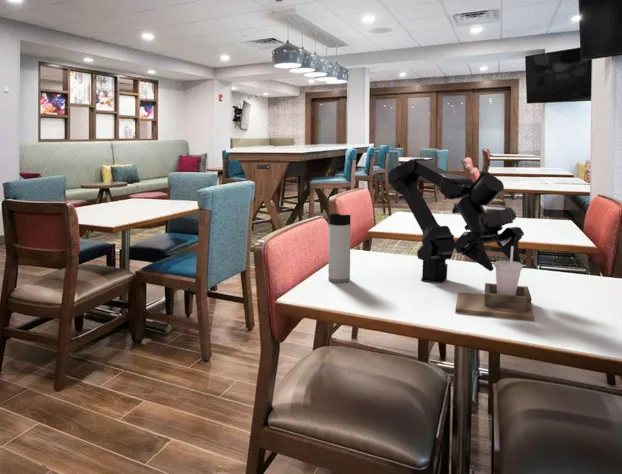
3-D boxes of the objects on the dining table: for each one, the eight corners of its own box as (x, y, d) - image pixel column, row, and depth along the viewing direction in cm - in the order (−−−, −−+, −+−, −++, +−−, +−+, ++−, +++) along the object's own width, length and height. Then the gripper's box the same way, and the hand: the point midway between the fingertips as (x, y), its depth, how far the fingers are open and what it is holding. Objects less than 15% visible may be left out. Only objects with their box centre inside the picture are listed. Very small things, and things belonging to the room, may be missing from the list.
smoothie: (516, 307, 114) (521, 250, 112) (488, 303, 118) (492, 246, 115) (522, 300, 119) (526, 245, 117) (495, 296, 123) (499, 242, 120)
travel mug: (324, 282, 140) (325, 213, 136) (332, 276, 146) (333, 210, 142) (345, 284, 137) (346, 214, 134) (352, 278, 143) (353, 211, 140)
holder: (455, 312, 114) (456, 296, 113) (457, 295, 127) (458, 280, 126) (534, 320, 108) (535, 303, 108) (528, 302, 122) (529, 286, 121)
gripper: (465, 199, 115) (497, 253, 108) (521, 195, 123) (555, 246, 116) (441, 226, 124) (469, 279, 116) (495, 221, 132) (525, 270, 124)
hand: (506, 268), depth 118 cm, fingers open, 9 cm apart
